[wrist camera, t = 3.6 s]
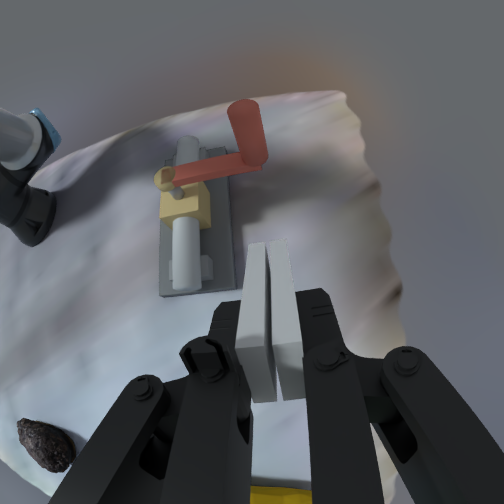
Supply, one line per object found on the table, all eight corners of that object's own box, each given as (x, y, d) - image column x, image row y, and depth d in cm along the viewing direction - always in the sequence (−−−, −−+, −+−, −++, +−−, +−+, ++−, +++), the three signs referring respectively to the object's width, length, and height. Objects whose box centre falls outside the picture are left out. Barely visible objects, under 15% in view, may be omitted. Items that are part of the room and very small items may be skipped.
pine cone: (30, 412, 37) (-1, 414, 28) (75, 429, 35) (39, 437, 26) (38, 450, 34) (9, 455, 25) (86, 472, 32) (54, 484, 22)
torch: (311, 482, 31) (163, 490, 30) (311, 458, 30) (146, 466, 29) (320, 519, 23) (155, 524, 22) (322, 500, 21) (134, 503, 21)
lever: (157, 194, 34) (121, 152, 25) (159, 175, 35) (126, 132, 27) (271, 170, 32) (260, 115, 24) (267, 151, 33) (256, 96, 25)
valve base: (163, 297, 41) (125, 282, 31) (168, 165, 50) (144, 130, 40) (237, 289, 40) (216, 270, 30) (226, 151, 49) (211, 111, 39)
